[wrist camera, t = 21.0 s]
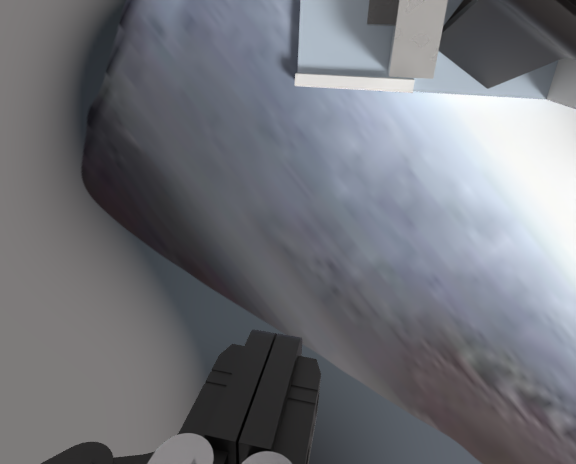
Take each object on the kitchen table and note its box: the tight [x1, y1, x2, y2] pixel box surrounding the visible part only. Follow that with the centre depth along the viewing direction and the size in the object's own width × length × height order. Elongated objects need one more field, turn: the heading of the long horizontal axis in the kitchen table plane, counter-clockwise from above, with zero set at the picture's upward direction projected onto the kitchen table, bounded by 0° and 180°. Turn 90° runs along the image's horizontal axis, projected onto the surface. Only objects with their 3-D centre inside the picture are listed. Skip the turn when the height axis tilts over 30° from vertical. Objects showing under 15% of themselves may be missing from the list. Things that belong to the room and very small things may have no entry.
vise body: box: [295, 0, 576, 109], centre depth 28 cm, size 24×12×7 cm, turn 88°
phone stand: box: [439, 0, 576, 89], centre depth 24 cm, size 9×6×12 cm, turn 146°
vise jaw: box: [367, 0, 448, 79], centre depth 28 cm, size 5×9×6 cm, turn 178°
